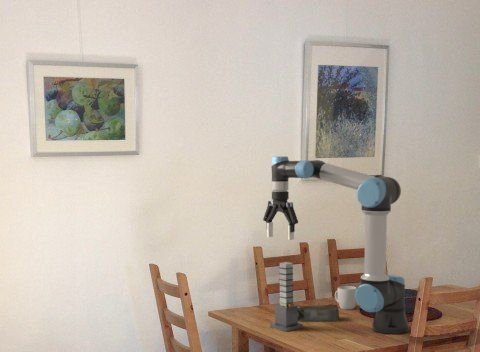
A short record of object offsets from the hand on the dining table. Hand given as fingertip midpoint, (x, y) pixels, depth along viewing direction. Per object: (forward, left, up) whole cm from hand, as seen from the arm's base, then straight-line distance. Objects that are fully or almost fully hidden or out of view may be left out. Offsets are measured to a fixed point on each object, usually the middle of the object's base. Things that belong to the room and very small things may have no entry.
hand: (280, 238), depth 321 cm
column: (-12, +8, -29) cm, 32 cm away
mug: (-2, -40, -37) cm, 55 cm away
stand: (-12, +8, -37) cm, 39 cm away
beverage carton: (-10, -13, -37) cm, 41 cm away
